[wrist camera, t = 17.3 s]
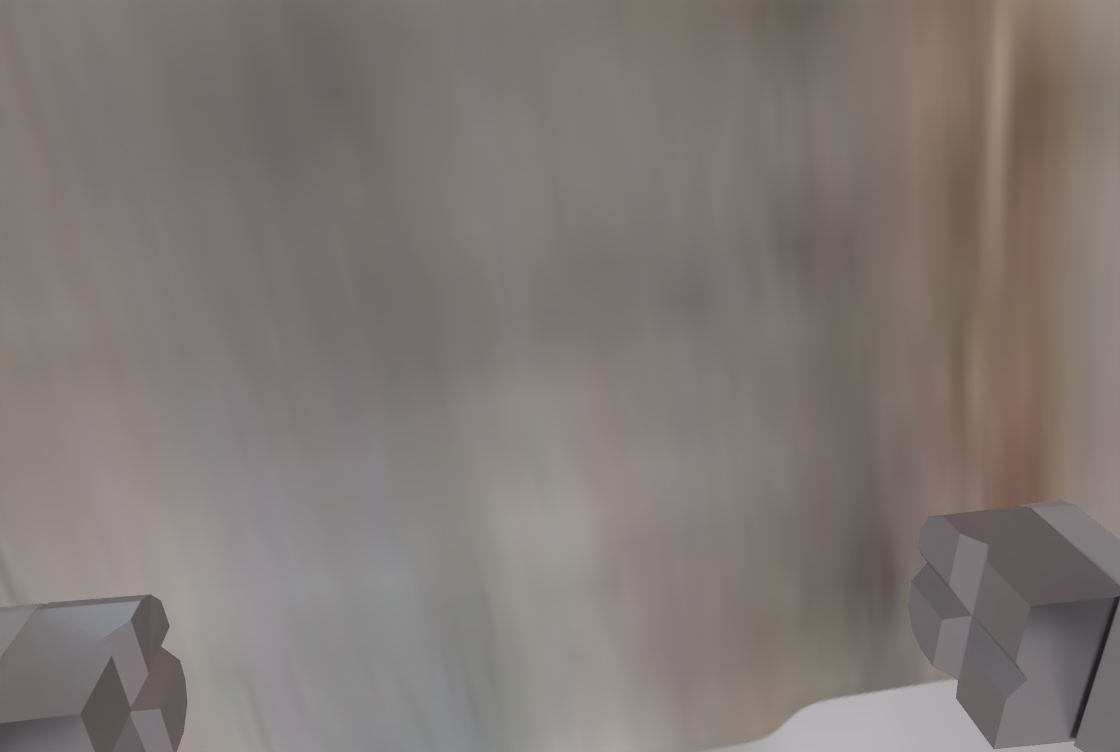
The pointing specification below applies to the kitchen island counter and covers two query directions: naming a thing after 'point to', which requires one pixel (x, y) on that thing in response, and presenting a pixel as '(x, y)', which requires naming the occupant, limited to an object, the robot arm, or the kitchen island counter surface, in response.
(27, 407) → the kitchen island counter surface
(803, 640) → the kitchen island counter surface
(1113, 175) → the kitchen island counter surface
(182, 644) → the kitchen island counter surface
